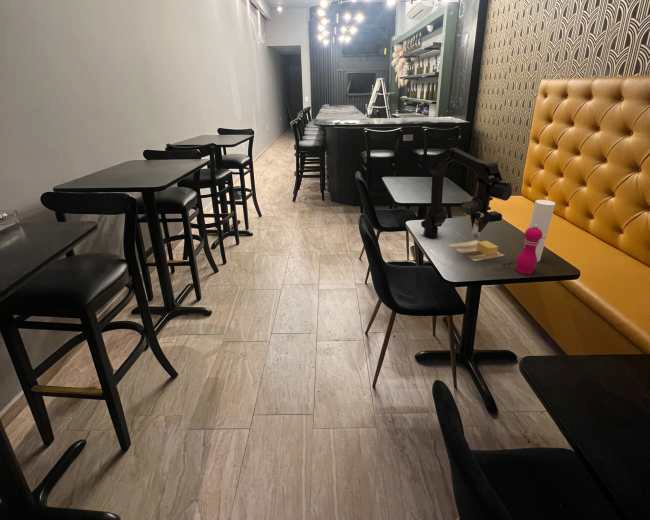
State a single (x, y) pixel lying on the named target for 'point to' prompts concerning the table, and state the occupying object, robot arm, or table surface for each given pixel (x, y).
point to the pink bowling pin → (529, 251)
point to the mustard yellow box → (486, 248)
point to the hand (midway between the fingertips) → (476, 230)
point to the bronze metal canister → (476, 228)
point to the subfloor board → (472, 250)
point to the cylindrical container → (542, 221)
